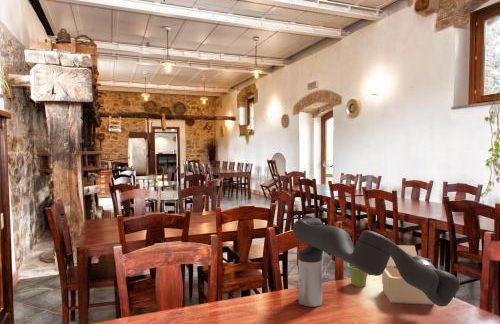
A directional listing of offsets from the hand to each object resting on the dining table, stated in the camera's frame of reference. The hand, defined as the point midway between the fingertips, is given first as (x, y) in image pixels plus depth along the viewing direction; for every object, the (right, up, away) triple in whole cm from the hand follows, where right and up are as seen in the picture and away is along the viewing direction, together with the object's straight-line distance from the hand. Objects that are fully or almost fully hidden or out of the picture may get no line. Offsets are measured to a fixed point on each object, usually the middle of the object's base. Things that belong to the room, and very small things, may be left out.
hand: (406, 255), depth 140 cm
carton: (0, -17, 0) cm, 17 cm away
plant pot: (-15, -17, +14) cm, 27 cm away
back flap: (+1, -6, +5) cm, 8 cm away
